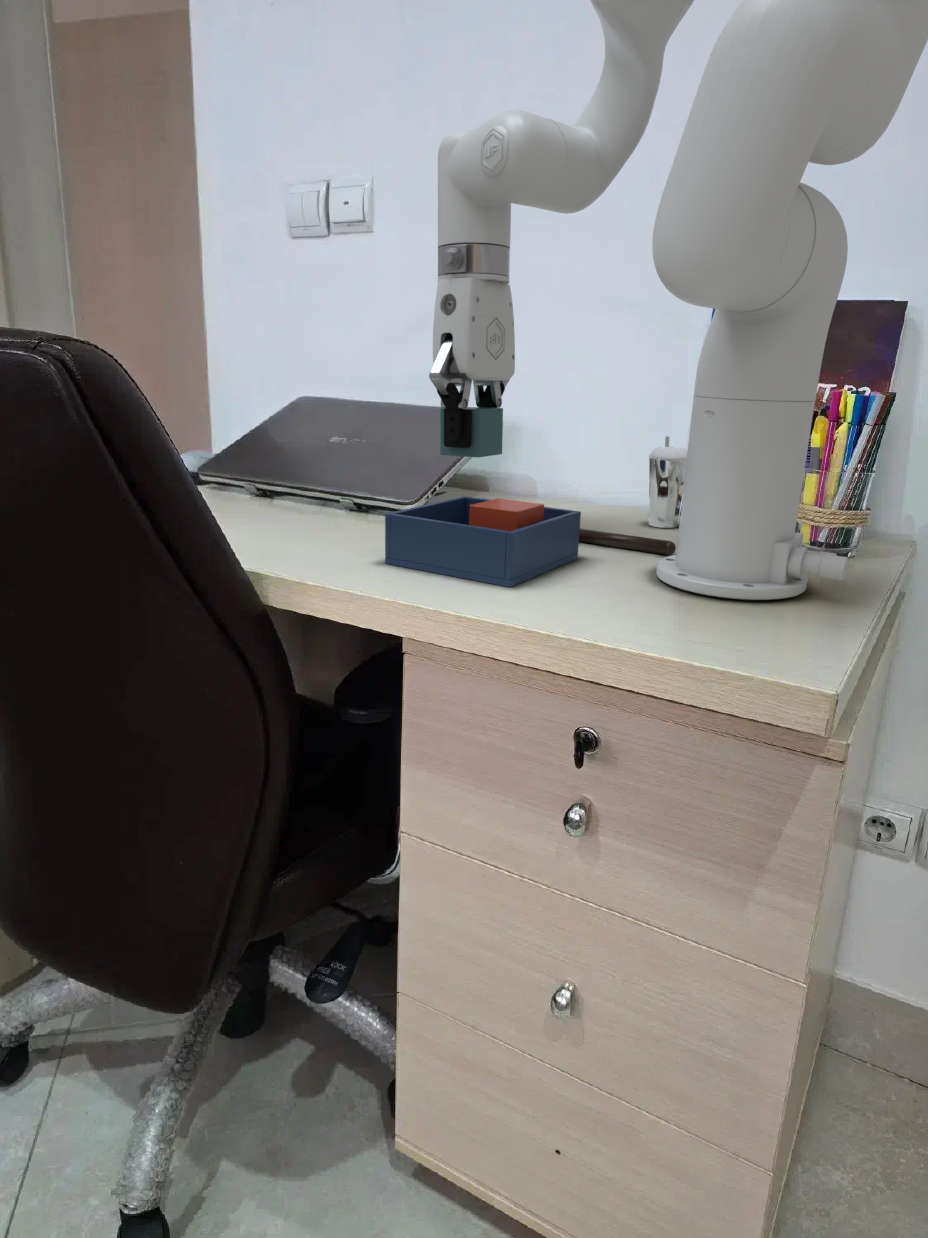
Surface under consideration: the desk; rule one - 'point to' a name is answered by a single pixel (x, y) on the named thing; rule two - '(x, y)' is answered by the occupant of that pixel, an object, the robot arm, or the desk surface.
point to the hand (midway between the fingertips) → (471, 443)
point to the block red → (505, 514)
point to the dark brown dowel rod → (627, 541)
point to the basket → (479, 543)
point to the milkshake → (666, 484)
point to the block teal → (478, 434)
